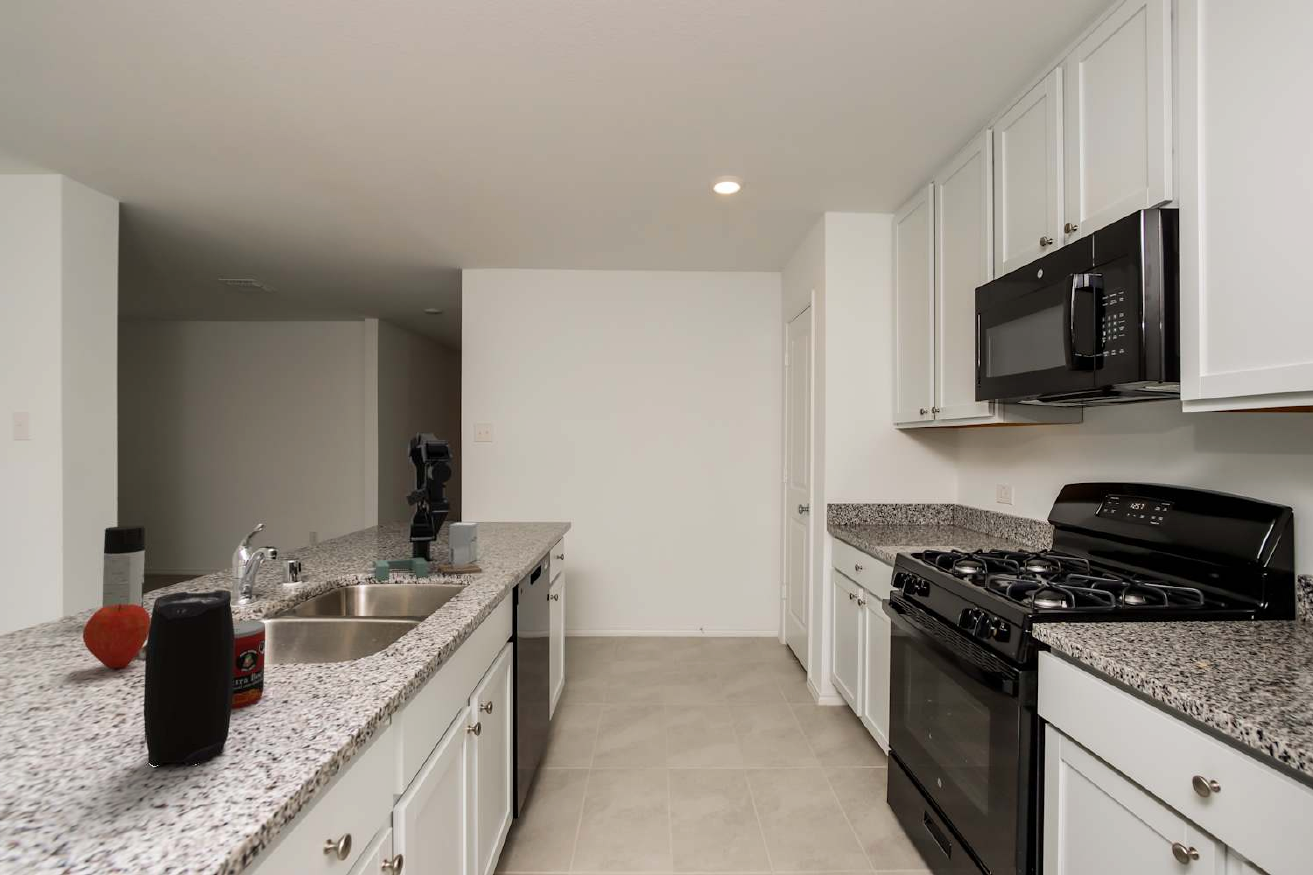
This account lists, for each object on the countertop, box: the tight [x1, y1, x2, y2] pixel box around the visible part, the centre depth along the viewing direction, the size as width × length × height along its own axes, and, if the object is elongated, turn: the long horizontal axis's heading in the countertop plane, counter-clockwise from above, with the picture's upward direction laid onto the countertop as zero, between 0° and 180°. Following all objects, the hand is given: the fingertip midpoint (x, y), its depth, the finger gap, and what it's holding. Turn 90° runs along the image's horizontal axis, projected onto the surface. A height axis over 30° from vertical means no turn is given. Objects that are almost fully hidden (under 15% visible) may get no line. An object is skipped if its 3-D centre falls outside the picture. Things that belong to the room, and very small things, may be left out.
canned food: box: [231, 619, 266, 711], centre depth 94 cm, size 8×8×11 cm
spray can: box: [102, 525, 146, 608], centre depth 133 cm, size 7×7×20 cm
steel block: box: [450, 546, 469, 569], centre depth 193 cm, size 4×4×6 cm
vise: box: [365, 558, 429, 582], centre depth 186 cm, size 15×16×4 cm
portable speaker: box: [143, 589, 235, 766], centre depth 78 cm, size 9×9×20 cm
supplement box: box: [448, 522, 478, 563], centre depth 208 cm, size 7×7×13 cm
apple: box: [82, 604, 151, 669], centre depth 106 cm, size 9×8×11 cm
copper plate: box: [437, 562, 483, 576], centre depth 193 cm, size 11×11×1 cm
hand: (433, 531), depth 192 cm, fingers open, 9 cm apart
